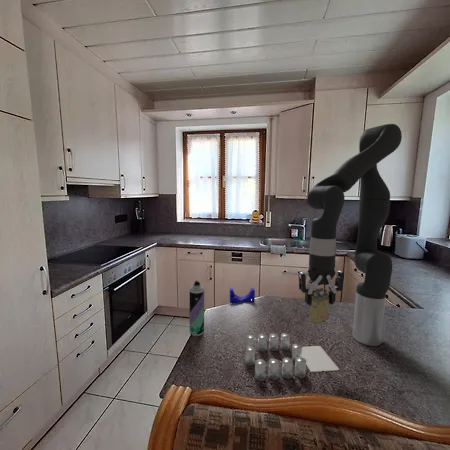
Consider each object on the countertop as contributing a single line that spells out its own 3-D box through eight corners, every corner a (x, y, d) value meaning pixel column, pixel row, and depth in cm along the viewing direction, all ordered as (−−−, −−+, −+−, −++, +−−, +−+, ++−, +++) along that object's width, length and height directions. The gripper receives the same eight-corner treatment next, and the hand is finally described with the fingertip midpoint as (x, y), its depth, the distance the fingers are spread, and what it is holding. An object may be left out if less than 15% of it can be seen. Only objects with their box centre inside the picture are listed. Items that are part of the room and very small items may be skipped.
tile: (320, 346, 88) (320, 345, 88) (339, 370, 76) (339, 369, 76) (295, 348, 87) (295, 347, 87) (310, 372, 75) (310, 371, 75)
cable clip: (230, 303, 122) (230, 291, 121) (229, 299, 126) (229, 288, 125) (254, 303, 122) (255, 291, 121) (253, 299, 127) (253, 287, 126)
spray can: (186, 331, 96) (186, 281, 93) (198, 326, 100) (198, 277, 97) (195, 337, 92) (195, 284, 89) (207, 332, 96) (207, 281, 93)
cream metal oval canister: (321, 314, 83) (323, 285, 82) (331, 319, 80) (333, 289, 79) (306, 320, 80) (308, 289, 78) (316, 325, 76) (318, 293, 75)
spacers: (291, 344, 89) (292, 332, 88) (312, 377, 73) (313, 363, 72) (240, 347, 87) (241, 335, 86) (250, 381, 71) (251, 366, 70)
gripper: (337, 248, 82) (334, 298, 84) (294, 249, 80) (293, 300, 82) (351, 254, 74) (348, 308, 76) (305, 255, 73) (302, 310, 75)
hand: (319, 303), depth 79 cm, fingers closed on cream metal oval canister, 6 cm apart
